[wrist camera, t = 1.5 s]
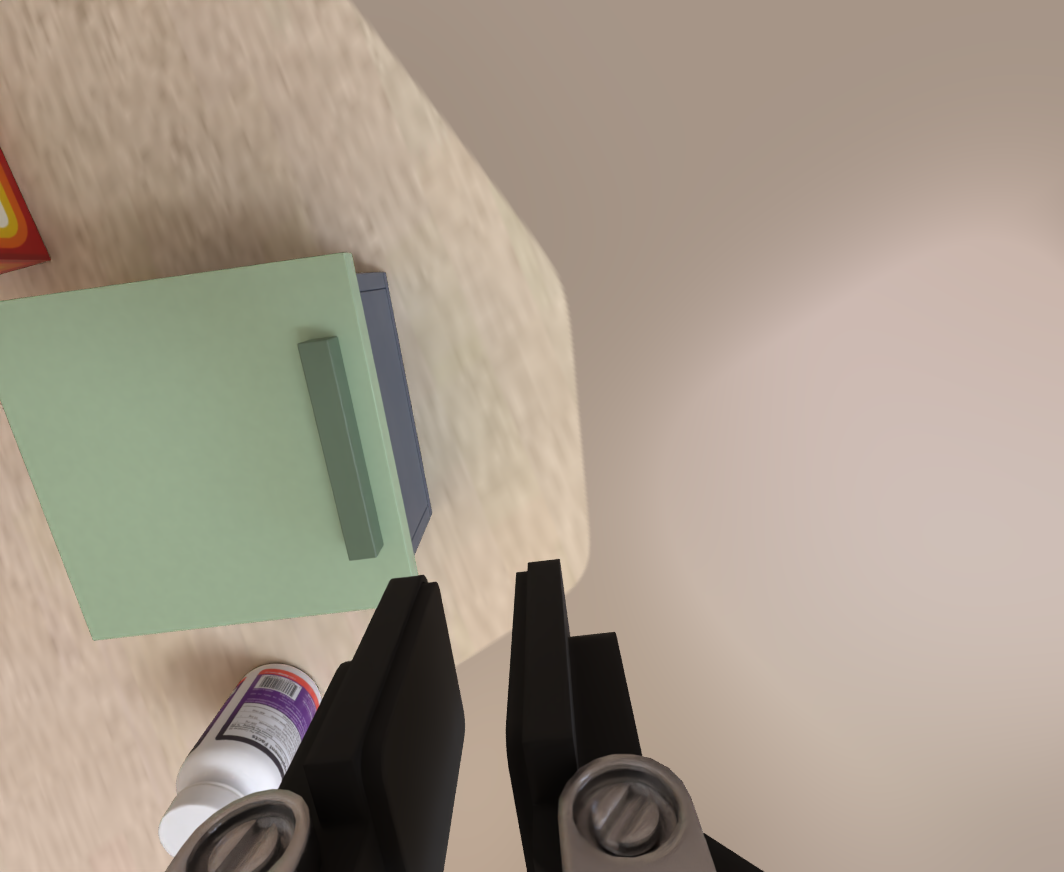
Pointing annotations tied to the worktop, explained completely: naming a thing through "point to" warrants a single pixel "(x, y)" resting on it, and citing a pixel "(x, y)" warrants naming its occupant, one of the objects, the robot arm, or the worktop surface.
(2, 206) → the baking soda box
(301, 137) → the worktop surface
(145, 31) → the worktop surface
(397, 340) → the storage bin
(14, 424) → the bin lid
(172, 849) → the pill bottle
